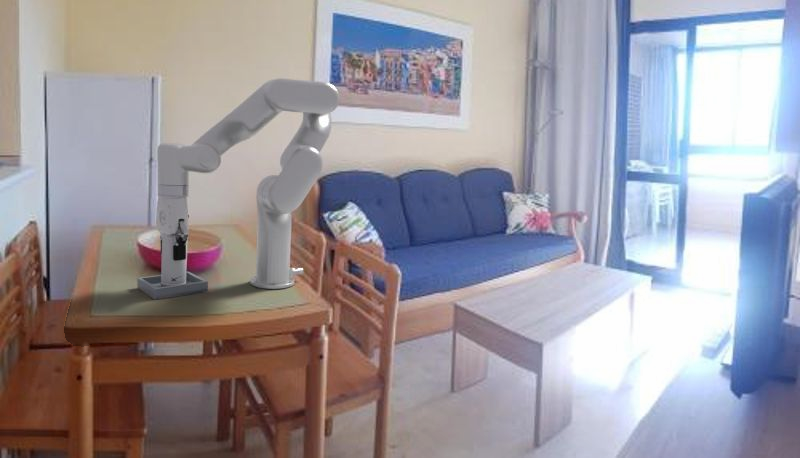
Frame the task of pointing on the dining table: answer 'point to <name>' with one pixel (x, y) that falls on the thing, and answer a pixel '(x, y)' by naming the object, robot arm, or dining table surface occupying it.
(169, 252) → the travel mug
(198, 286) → the tray
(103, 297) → the dining table surface
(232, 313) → the dining table surface
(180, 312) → the dining table surface
